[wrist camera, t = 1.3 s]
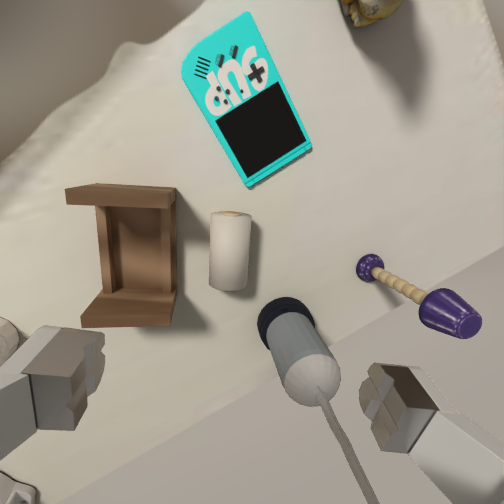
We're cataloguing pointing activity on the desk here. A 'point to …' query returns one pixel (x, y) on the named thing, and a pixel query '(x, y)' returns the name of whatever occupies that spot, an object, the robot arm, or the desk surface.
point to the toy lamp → (427, 301)
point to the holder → (132, 254)
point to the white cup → (7, 340)
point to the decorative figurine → (368, 10)
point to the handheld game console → (245, 100)
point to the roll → (229, 250)
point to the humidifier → (307, 368)
